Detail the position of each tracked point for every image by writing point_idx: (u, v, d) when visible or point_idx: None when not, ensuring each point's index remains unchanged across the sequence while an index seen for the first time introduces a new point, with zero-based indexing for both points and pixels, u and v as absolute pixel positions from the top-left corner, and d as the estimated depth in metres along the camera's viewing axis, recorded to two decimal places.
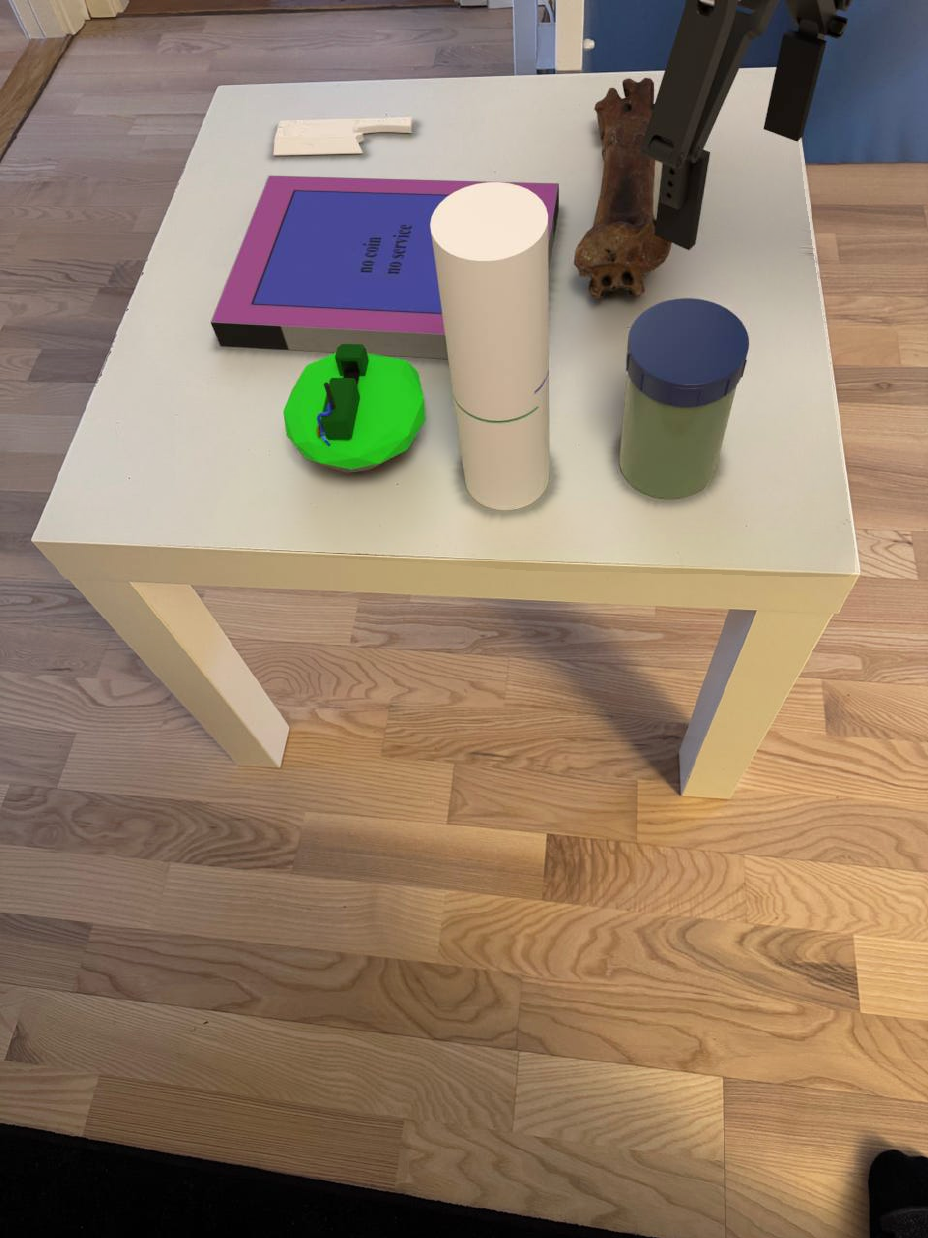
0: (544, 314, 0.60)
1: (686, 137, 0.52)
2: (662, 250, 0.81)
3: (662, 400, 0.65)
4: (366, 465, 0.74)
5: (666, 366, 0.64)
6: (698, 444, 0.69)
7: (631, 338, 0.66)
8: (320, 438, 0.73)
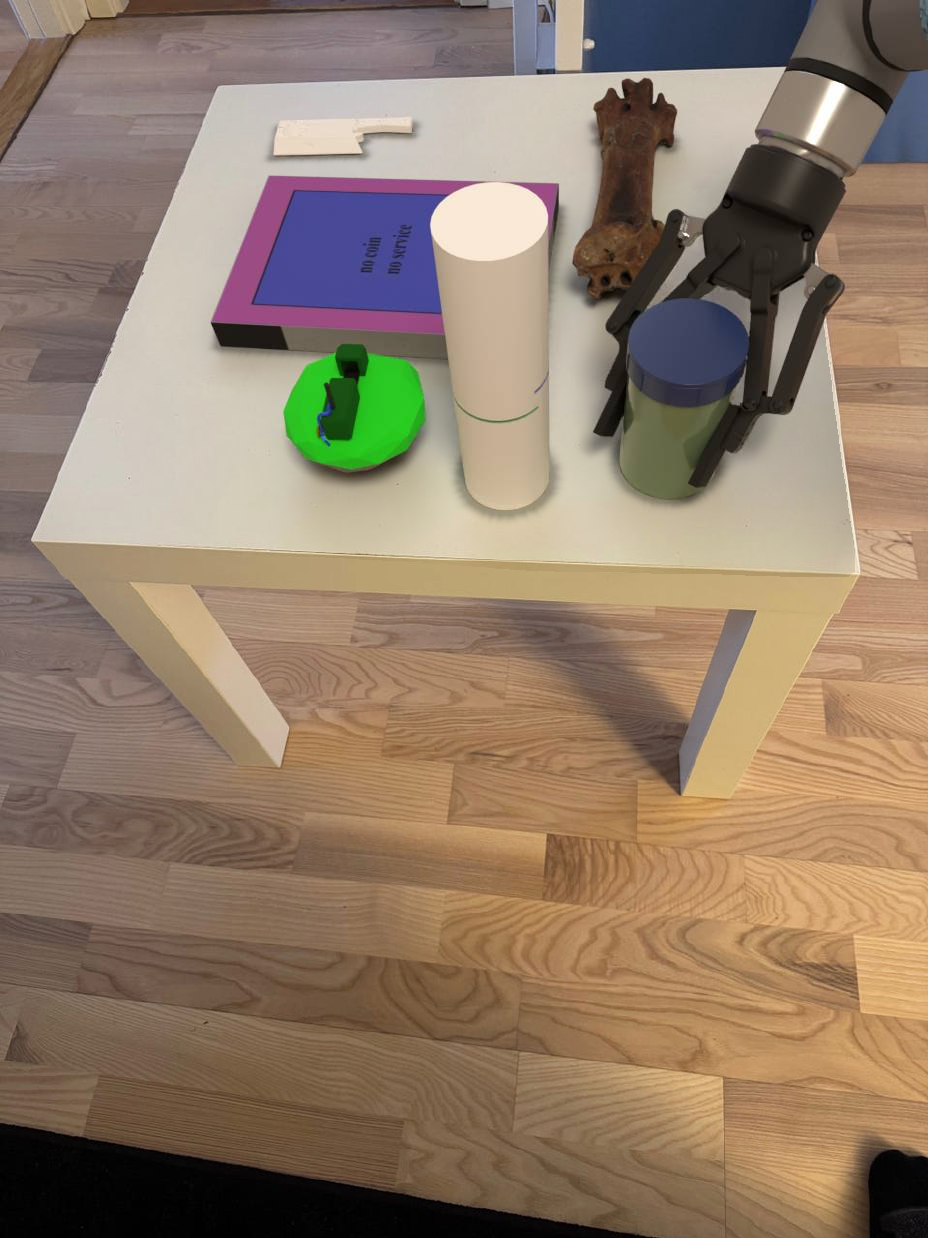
0: (544, 314, 0.60)
1: (618, 310, 0.71)
2: None
3: (662, 400, 0.65)
4: (366, 465, 0.74)
5: (666, 366, 0.64)
6: (698, 444, 0.69)
7: (631, 338, 0.66)
8: (320, 438, 0.73)
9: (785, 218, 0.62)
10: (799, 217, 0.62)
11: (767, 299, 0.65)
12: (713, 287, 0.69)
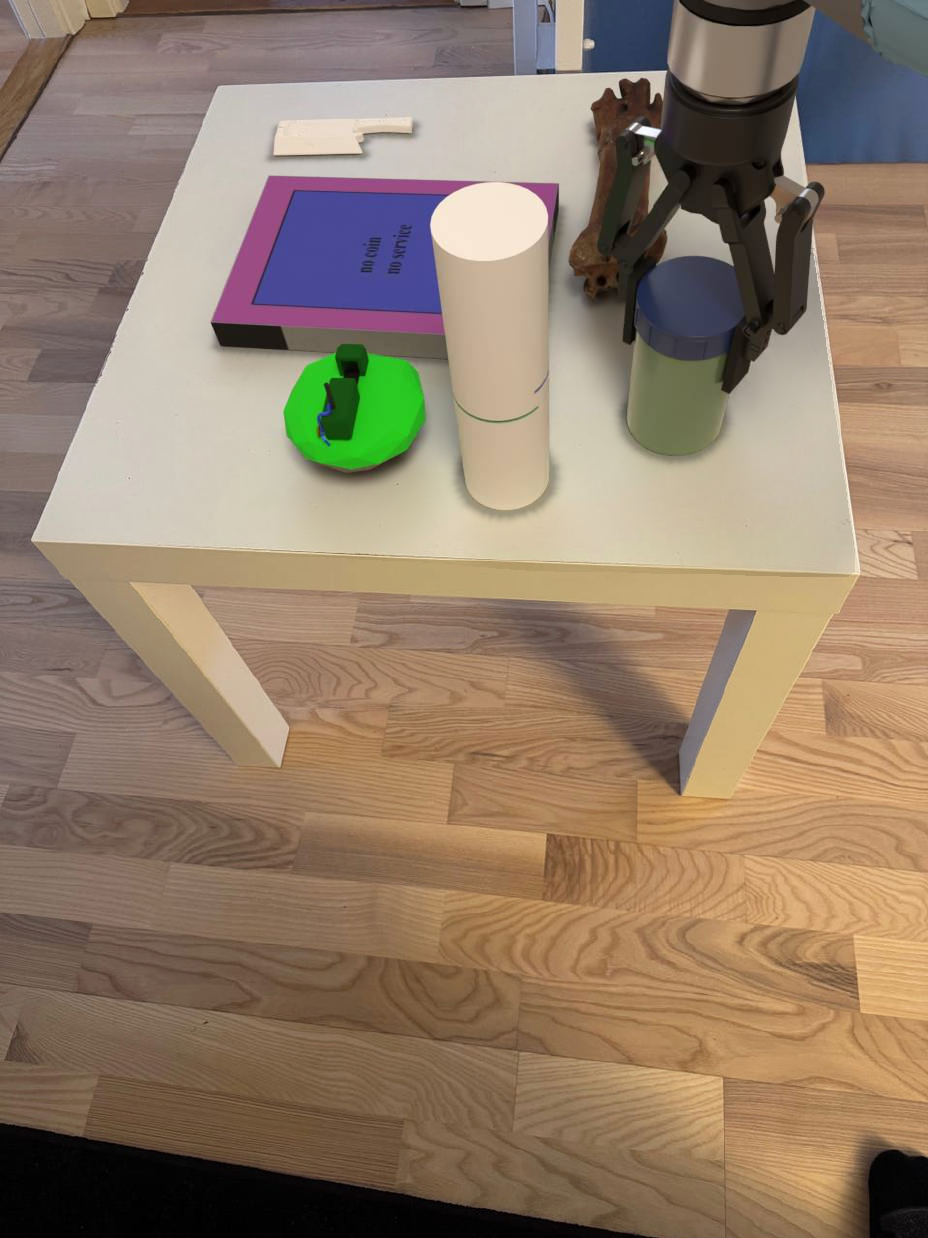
0: (544, 314, 0.60)
1: (603, 234, 0.67)
2: (657, 250, 0.81)
3: (669, 353, 0.67)
4: (366, 465, 0.74)
5: (673, 320, 0.66)
6: (704, 399, 0.71)
7: (639, 293, 0.68)
8: (320, 438, 0.73)
9: None
10: (737, 163, 0.54)
11: (736, 233, 0.59)
12: None
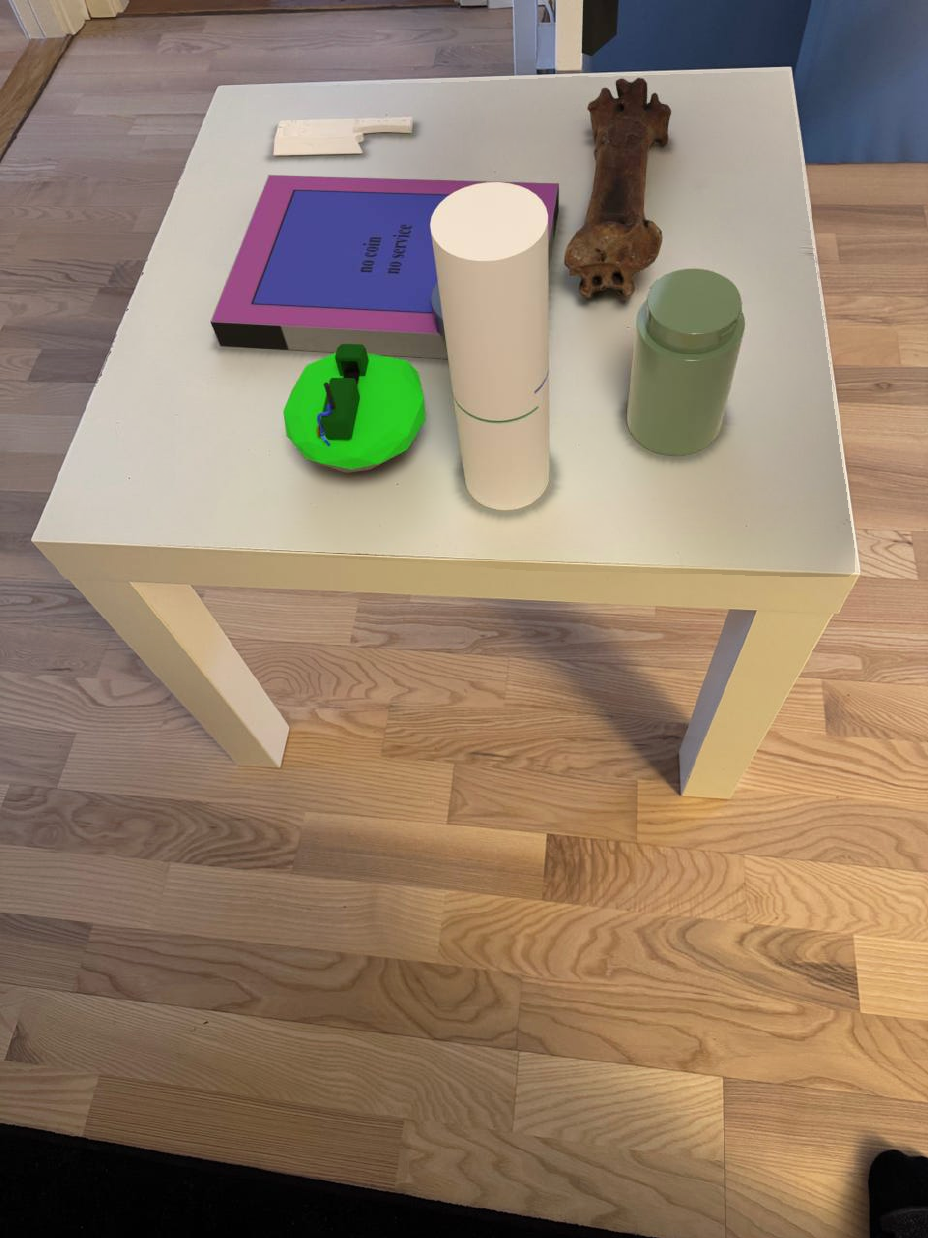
0: (544, 314, 0.60)
1: None
2: (652, 250, 0.81)
3: None
4: (366, 465, 0.74)
5: None
6: (704, 399, 0.71)
7: None
8: (320, 438, 0.73)
9: None
10: None
11: None
12: None
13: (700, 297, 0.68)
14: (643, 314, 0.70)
